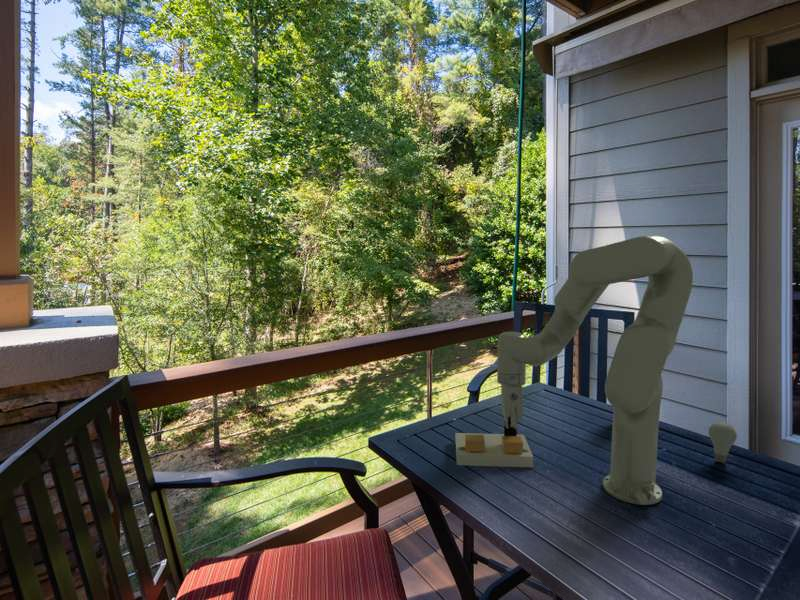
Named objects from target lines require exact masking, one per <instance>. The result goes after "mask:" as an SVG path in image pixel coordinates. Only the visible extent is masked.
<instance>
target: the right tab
mask: <svg viewBox="0 0 800 600" xmlns="http://www.w3.org/2000/svg"><path fill="white" fill-rule="evenodd" d="M502 449H503V452H504V453H523V441H522V439H521V436H502Z"/></svg>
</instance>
